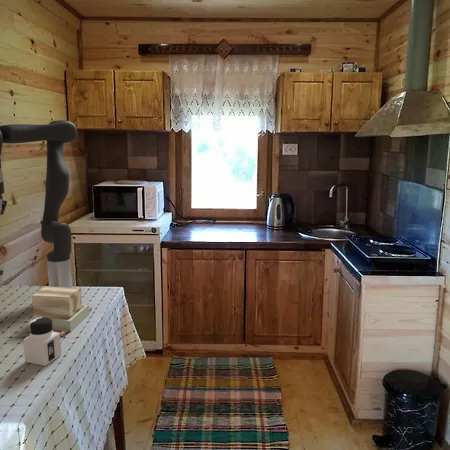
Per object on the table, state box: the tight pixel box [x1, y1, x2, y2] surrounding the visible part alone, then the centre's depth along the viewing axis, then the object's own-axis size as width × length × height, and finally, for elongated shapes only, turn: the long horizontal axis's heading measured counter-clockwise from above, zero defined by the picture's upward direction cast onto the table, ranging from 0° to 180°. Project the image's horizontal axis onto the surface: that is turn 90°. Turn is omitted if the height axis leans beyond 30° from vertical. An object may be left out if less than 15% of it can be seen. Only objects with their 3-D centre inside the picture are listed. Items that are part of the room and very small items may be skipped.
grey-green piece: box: [52, 303, 93, 338], centre depth 168 cm, size 25×7×4 cm, turn 173°
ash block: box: [31, 285, 83, 320], centre depth 168 cm, size 10×14×12 cm
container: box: [23, 317, 62, 367], centre depth 140 cm, size 8×8×13 cm
